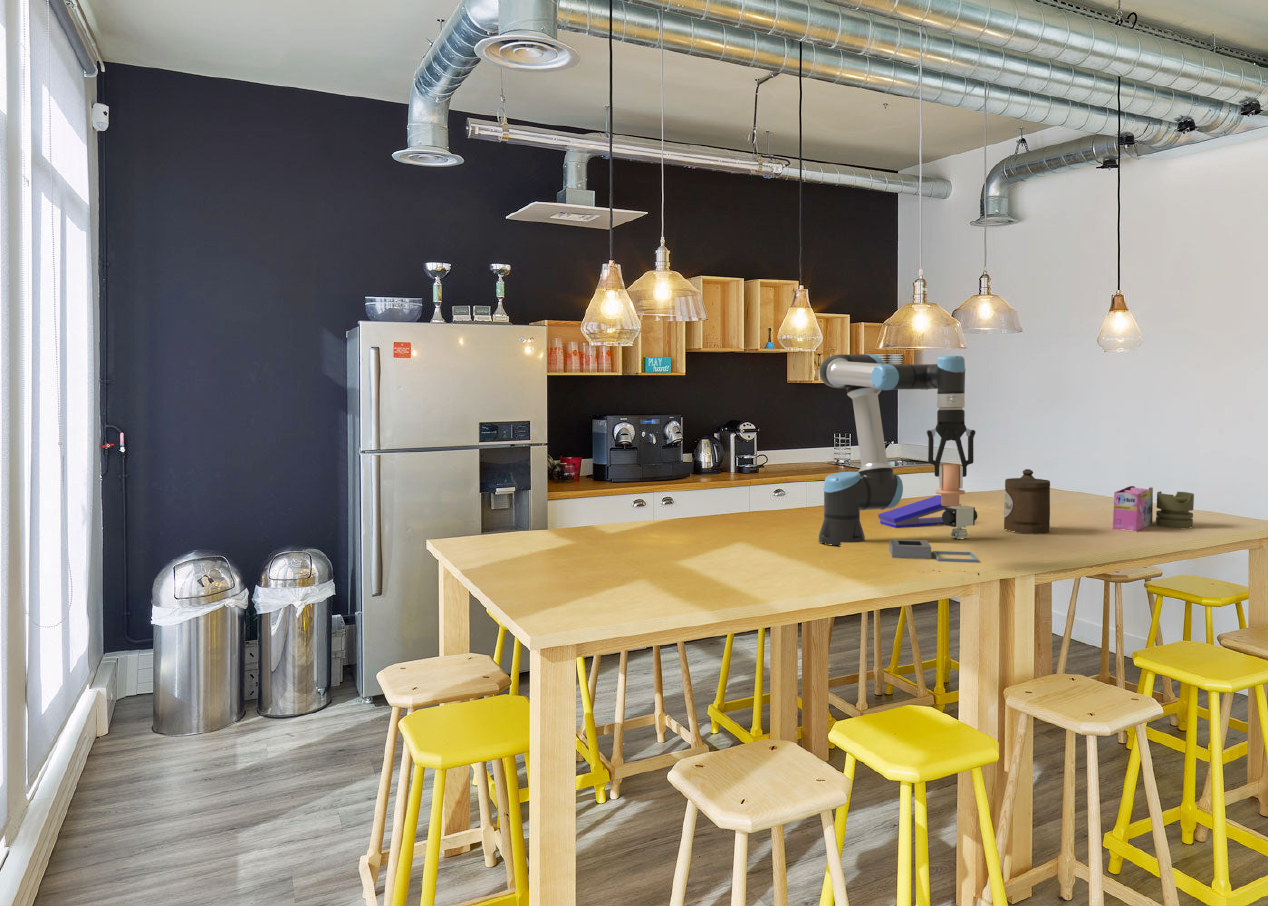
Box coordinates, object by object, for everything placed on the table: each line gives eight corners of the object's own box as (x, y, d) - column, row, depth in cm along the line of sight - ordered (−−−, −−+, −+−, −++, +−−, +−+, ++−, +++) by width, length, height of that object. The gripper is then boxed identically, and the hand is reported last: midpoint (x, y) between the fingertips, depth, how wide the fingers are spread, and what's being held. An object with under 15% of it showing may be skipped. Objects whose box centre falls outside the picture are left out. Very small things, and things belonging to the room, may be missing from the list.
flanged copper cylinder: (937, 506, 246) (937, 465, 245) (934, 503, 254) (934, 463, 253) (966, 507, 244) (966, 466, 243) (962, 503, 252) (963, 463, 251)
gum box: (1129, 521, 319) (1131, 485, 318) (1153, 523, 314) (1155, 487, 312) (1112, 529, 302) (1113, 492, 301) (1137, 532, 296) (1138, 493, 295)
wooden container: (1008, 525, 312) (1010, 466, 310) (1052, 529, 303) (1054, 468, 301) (999, 531, 300) (1001, 470, 298) (1045, 535, 291) (1047, 472, 289)
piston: (1200, 495, 300) (1166, 495, 302) (1198, 528, 301) (1164, 528, 303) (1184, 491, 311) (1151, 491, 313) (1182, 523, 312) (1150, 523, 314)
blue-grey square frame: (937, 566, 246) (937, 558, 246) (932, 558, 257) (932, 550, 257) (977, 567, 244) (977, 559, 244) (971, 559, 254) (971, 552, 254)
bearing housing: (892, 562, 252) (892, 545, 251) (889, 555, 262) (889, 539, 262) (930, 563, 249) (931, 547, 249) (926, 556, 260) (926, 540, 260)
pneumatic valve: (977, 538, 288) (978, 503, 287) (951, 541, 283) (951, 506, 282) (965, 535, 293) (965, 501, 292) (939, 538, 288) (939, 504, 287)
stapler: (959, 524, 318) (959, 498, 317) (895, 529, 309) (895, 502, 309) (939, 519, 329) (940, 494, 328) (877, 524, 320) (877, 498, 319)
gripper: (919, 409, 246) (919, 489, 247) (985, 408, 241) (985, 489, 243) (917, 409, 253) (917, 486, 254) (981, 408, 248) (981, 486, 250)
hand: (950, 487), depth 249 cm, fingers closed on flanged copper cylinder, 5 cm apart
